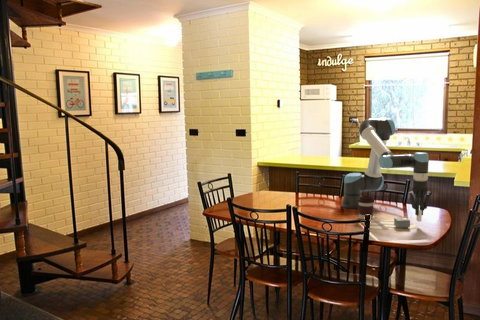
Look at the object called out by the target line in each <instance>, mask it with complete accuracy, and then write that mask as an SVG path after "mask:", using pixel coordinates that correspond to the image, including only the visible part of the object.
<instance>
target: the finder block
mask: <svg viewBox="0 0 480 320" xmlns="http://www.w3.org/2000/svg"><path fill="white" fill-rule="evenodd" d="M393 220H394V225H395V226H396V227H397V228H399V229H398V230H401V229H400V228H401V227H406V228H408V227H410V222H411V219H409V218H407V217H394V219H393Z"/></svg>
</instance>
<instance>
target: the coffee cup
mask: <svg viewBox="0 0 480 320" xmlns="http://www.w3.org/2000/svg"><path fill="white" fill-rule="evenodd" d="M358 202H359V204H358V207H359V209H358V215H359V216H358V217H359V220H365V219H364V217H365V214H370V215H371V219H370V220H372V219H373V214H374V213H373V212H374V203H375V198H373V197H372V195H371V196H370V195H361V196H360V198H358Z"/></svg>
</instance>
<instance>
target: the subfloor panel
mask: <svg viewBox="0 0 480 320" xmlns="http://www.w3.org/2000/svg"><path fill="white" fill-rule="evenodd" d="M370 221H371V223H370V229H369V231H378V230H381V231H382V230H385V231H386V230H389V231H390V230H420V227H418V226H416V225H415V224H414V223H412V222H411V221H410V227H408V228H406V227H401V228H400V229H399V228H397V227H396V226H395V225H394V219H388V220H387V219H386V220H383V219H381V220H380V219H378V220H376V219H375V220H374V219H373V220H370ZM360 224H361V225H362V226H363V227H364V226H365V224H364V223H362V222H360Z"/></svg>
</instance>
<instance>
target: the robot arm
mask: <svg viewBox="0 0 480 320" xmlns="http://www.w3.org/2000/svg"><path fill="white" fill-rule="evenodd" d="M358 132H359V136H360V137H361V138H362V139H363V140H366V142H367V143H368V145H369V146H370V149H371V150H370V153H369V159H368V165H367V169H365V170H364V173H363V174H362V173H360V172H350V173H348V174H347V173H346V175H345V176H344V178H343V179H344V180H343V183H344V184H343V185H344V188H343V189H344V191H343V192H344V194H343V195H344V196H343V198H342V201H341V207H342V208H345V209H351V210H352V209H354V210H357V209H358V210H359V207H358V204H359V202H358V198H360V196H362V192H375V191H380V190H382V188H383V187H384V181H385V178H384V176H383V175H382V172H381V170H382V169H401V168H402V169H405V168H411V169H412V170H413V171H412V172H413V173H412V179H413V180H412V190H411V191H408V192H407V195H408V196H409V200H410V204H411V209H413V210H415V212H414V213H415V216H416V221H417V222H419V223H420V222H422V217H423V215H424V211H425V210H426V209H428V206H429V203H430V198H431V196H432V195H433V192H431V191H429V189H428V184H429V183H428V180H429V160H430V159H429V153H428V152H418V151H417V152H414V153H413V154H411V153H404V154H394V153H393V152H392V151H391V150H390V148H388V146H387V142H388V141H389V140H390V138H391V136H393V135H394V134H395V132H396V124H395V121H394V120H393V119H392V118H391V117H376V118H373V117H371V118H366V119H364V120H363V121H362V122H360V125H359V127H358Z"/></svg>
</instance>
